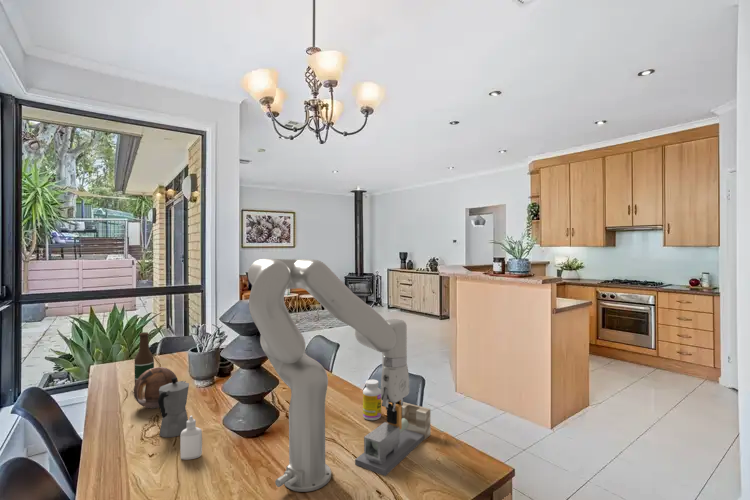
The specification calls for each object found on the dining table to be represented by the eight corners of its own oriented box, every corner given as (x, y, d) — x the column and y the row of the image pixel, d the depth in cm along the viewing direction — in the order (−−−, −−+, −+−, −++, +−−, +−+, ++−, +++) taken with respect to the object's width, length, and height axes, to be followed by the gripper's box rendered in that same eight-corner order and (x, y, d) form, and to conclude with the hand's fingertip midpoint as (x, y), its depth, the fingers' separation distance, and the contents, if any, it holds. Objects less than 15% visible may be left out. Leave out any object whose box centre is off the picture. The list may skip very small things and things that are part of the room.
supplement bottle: (379, 421, 136) (379, 385, 135) (361, 420, 137) (360, 384, 137) (382, 413, 142) (382, 379, 142) (365, 412, 143) (365, 377, 143)
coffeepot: (171, 422, 136) (170, 371, 136) (197, 422, 136) (197, 371, 136) (144, 444, 120) (144, 387, 120) (174, 444, 120) (174, 387, 120)
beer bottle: (158, 386, 171) (157, 332, 171) (139, 391, 165) (139, 335, 164) (148, 382, 175) (148, 330, 175) (130, 388, 169) (130, 333, 169)
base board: (385, 476, 103) (385, 470, 103) (355, 464, 109) (355, 459, 109) (426, 437, 124) (426, 432, 124) (399, 429, 130) (399, 425, 130)
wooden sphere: (166, 396, 159) (165, 360, 159) (186, 404, 151) (185, 366, 151) (126, 408, 147) (126, 369, 147) (145, 418, 139) (145, 377, 138)
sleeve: (379, 465, 106) (379, 442, 106) (364, 460, 108) (364, 436, 108) (399, 448, 115) (399, 426, 115) (384, 443, 118) (384, 422, 118)
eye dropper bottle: (193, 462, 110) (193, 420, 110) (177, 459, 112) (177, 418, 112) (204, 454, 115) (204, 414, 115) (189, 451, 116) (188, 411, 116)
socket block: (425, 439, 123) (425, 413, 123) (395, 430, 129) (395, 405, 129) (430, 434, 126) (430, 408, 126) (401, 426, 132) (401, 401, 132)
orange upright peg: (382, 452, 108) (382, 418, 108) (370, 448, 110) (370, 415, 110) (409, 429, 121) (409, 399, 121) (398, 426, 124) (398, 396, 123)
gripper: (391, 370, 108) (391, 435, 109) (417, 356, 122) (417, 414, 122) (369, 365, 113) (369, 428, 113) (397, 352, 126) (397, 408, 126)
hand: (394, 420), depth 117 cm, fingers open, 2 cm apart
